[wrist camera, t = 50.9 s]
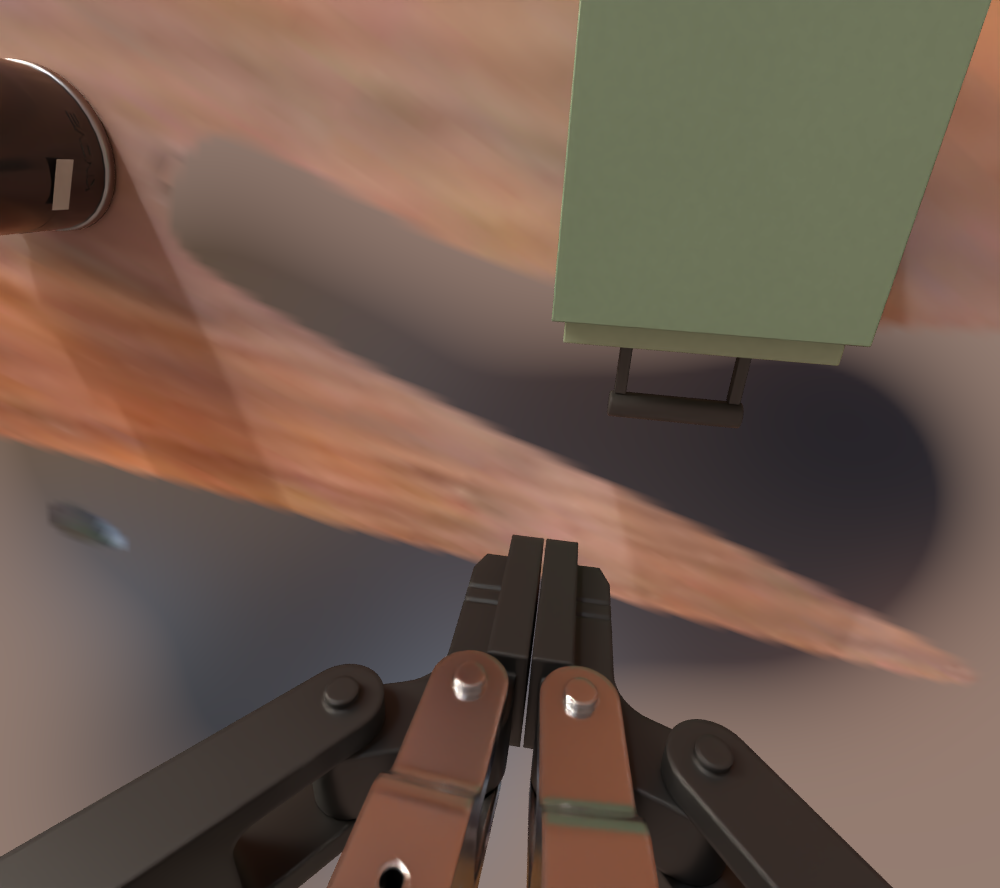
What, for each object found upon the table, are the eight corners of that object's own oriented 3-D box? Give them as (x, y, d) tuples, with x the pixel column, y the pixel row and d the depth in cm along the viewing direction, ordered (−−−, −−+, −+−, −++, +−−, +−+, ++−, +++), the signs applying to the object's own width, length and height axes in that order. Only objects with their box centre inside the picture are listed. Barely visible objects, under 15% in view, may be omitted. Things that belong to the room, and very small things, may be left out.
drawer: (764, 399, 35) (809, 457, 28) (561, 381, 36) (554, 431, 29) (870, 15, 26) (973, -44, 19) (598, 10, 27) (601, -47, 20)
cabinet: (796, 301, 33) (871, 347, 24) (561, 284, 34) (551, 321, 26) (892, -43, 26) (1045, -155, 17) (592, -46, 27) (592, -149, 19)
